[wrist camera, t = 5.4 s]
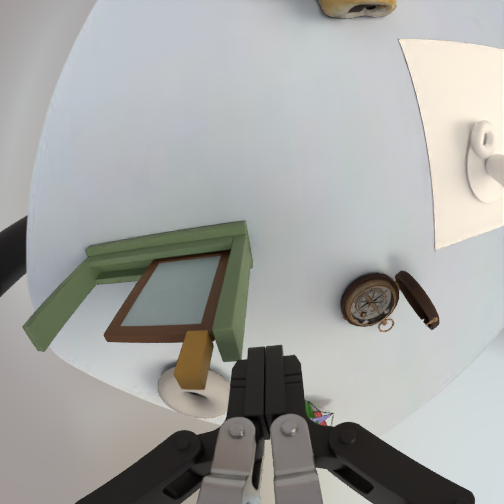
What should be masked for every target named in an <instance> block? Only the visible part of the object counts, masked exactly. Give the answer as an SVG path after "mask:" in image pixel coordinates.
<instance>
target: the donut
mask: <svg viewBox="0 0 504 504" xmlns="http://www.w3.org/2000/svg"><path fill="white" fill-rule="evenodd" d="M174 370H175V367H172V368H170V369H168V370H166V371H165V372H164V373H163V374H162V375H161V377H160V378H159V380H158V393H159V395H160V397H161V399H162V400H163V401H164V402H165V403H166V404H167V405H168V406H169V407H170V408H172V409H173V410H175V411H177V412H179V413H182V414H184V415H187V416H191V417H195V418H214V417H218V416H221V415H223V414H225V413H226V412H227V409H228V401H229V392H230V384H229V383H228V382H227V380H226V379H224V378H223V377H221V376H220V375H219V374H217V373H215V372H213V371H211V370H209V371H208V376H207V381H206V386H205V390H183V389H181V388H180V386H179V384H178V382H177V381H176V379H175V377H174ZM189 392H193V393H198V394H200V395H195V394H192V393H189ZM201 395H203V396H201Z"/></svg>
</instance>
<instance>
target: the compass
mask: <svg viewBox="0 0 504 504" xmlns="http://www.w3.org/2000/svg"><path fill="white" fill-rule="evenodd" d="M395 279H396V281H394V280H393V279H392V278H391V277H389V276H387V275H385V274H379V273H375V274H368V275H366V276H363V277H360V278H359V279H357V280H356V281H354V282H353V283H352V284H351V285H350V286H349V287H348V288H347V289H346V291H345V293H344V295H343V296H342V301H341V310H342V313H343V315H344V317H343V318H344V319H345V320H347V321H348V322H349V323H350V324H353V325H355V326H362V327H366V326H372V325H374V324H377V323H379V322H381V323H380V324H379V327H378V328H379V330H380V325H381V324H383V325H386V324H387V321H386V320H391V321H392V322H393V324H392V326H391V328H392V327H393V325H394V321H393V320H392V319H386V318H387V317H388V316H389V315H390V314H391V313H392V312H393V310H394V309H395V307H396V306H397V303H398V300H399V290H401V291H402V293H403V294H404V296H405V298H406V299H407V301H408V302H409V304H410V305H411V307H412V308H413V309H414V311H415V312H416V313H417V315H418V316H419V317H420V319H421V320H422V319H424V321H423V322H424V323H425V324H426V326H428V327H429V328H430V329H431V330H433V329H434V328H436V327H437V326H438V325H439V316H438V313H437V311H436V309H435V307H434V305H433V303H432V302H431V300H430V298H429V297H428V295H427V294H426V292H425V291H424V290H423V289H422V287H421V286H420V285H419V283H418V282H417V281H416V280H415V279H414V278H413V277H412V276H411V275H410V274H409V273H407V272H406V271H400V272H399V273H398V274H396V275H395ZM391 328H389V329H388V330H385V331H382V330H380V331H381V332H387V331H389V330H390V329H391Z"/></svg>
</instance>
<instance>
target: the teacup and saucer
mask: <svg viewBox="0 0 504 504" xmlns="http://www.w3.org/2000/svg"><path fill="white" fill-rule="evenodd" d="M485 159H486V161H485V168H484V167H483V164H484V163H483V162H484V160H485ZM484 169H486V172H487V173H488V175H489V176H487V175H485V174H486V173H485V172H484ZM466 172H467V179H468V183H469V186H470V189H471V191H472V193H473V195H474V196H475V197H476V198H477V199H478V200H479V201H480V202H481V203H483V204H487V205H492V204H495V203H497V202H499V201H500V200H501V199H502V198H503V197H504V133H503V132H502V131H501V130H500V129H499V128H497V127H495V126H494V125H493V124H492V123H491V122H490V121H489V120H486V119H482V120H479V121H478V122H477V123H476V124H475V125H474V126H473V128H472V131H471V143H470V146H469V149H468V153H467V160H466Z"/></svg>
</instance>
